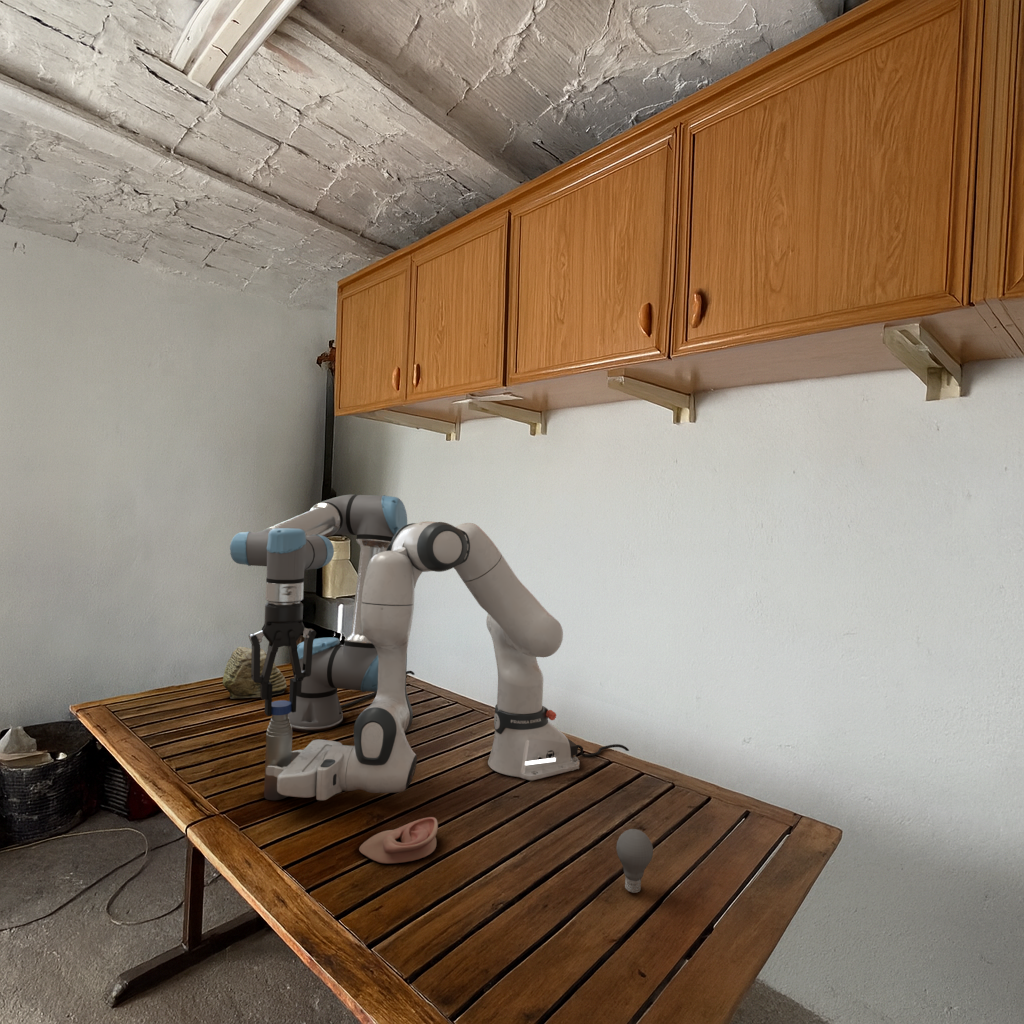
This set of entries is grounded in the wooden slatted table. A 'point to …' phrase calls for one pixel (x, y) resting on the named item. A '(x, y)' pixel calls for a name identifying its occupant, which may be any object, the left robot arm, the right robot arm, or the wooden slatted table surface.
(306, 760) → the right robot arm
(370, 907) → the wooden slatted table surface
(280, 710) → the cap
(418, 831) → the anatomical model
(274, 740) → the bottle
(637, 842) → the light bulb
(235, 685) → the fossil
